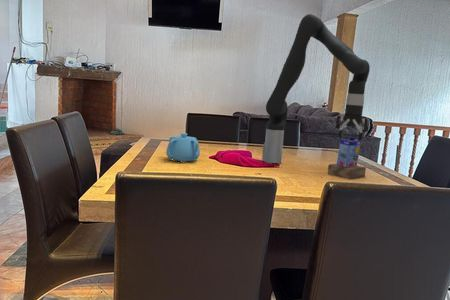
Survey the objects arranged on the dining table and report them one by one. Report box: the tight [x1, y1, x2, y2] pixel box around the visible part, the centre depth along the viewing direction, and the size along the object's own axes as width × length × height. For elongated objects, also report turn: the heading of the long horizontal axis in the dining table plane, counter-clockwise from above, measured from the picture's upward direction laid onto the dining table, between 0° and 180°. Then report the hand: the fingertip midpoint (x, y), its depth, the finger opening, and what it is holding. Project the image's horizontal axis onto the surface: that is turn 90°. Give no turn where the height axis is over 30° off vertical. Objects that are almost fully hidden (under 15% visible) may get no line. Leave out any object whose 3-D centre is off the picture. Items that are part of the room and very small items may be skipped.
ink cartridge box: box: [336, 134, 362, 168], centre depth 178 cm, size 10×6×14 cm, turn 132°
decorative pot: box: [165, 132, 201, 162], centre depth 190 cm, size 16×16×14 cm
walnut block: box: [327, 163, 367, 180], centre depth 180 cm, size 12×12×5 cm
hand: (350, 139), depth 177 cm, fingers open, 8 cm apart
